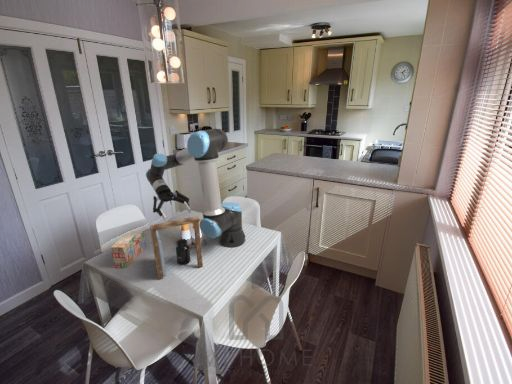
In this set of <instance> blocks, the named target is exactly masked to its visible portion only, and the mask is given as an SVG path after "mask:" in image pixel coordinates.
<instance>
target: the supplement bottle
mask: <svg viewBox="0 0 512 384" xmlns="http://www.w3.org/2000/svg"><path fill="white" fill-rule="evenodd" d="M176 244H177V245H176V246H175V256H176V262H177V264H178V265H180V266H185V265H188V264H190V263H191V260H192V258H191V248H190V245H189V244H188V239H186V238H180V239H178V240H177V241H176Z"/></svg>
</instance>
